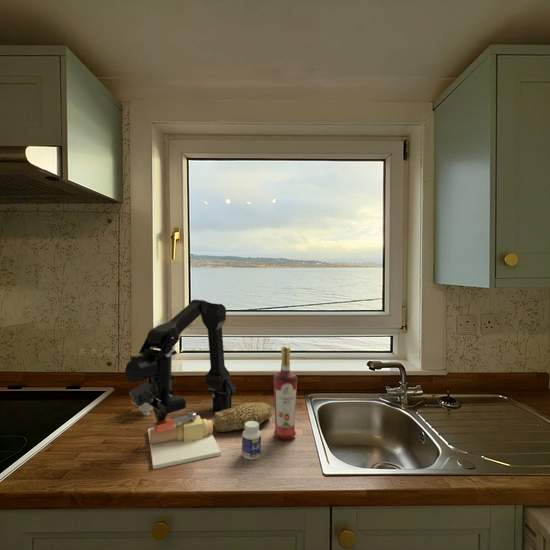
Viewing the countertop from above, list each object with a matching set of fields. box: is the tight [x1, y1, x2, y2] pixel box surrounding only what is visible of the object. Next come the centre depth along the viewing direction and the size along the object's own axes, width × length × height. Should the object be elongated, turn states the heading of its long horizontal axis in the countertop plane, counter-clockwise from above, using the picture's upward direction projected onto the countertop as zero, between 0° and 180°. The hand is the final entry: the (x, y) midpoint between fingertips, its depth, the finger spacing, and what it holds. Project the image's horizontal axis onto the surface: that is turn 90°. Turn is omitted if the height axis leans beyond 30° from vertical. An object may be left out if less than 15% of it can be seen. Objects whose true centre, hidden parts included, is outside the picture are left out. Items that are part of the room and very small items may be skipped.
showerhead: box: [131, 401, 153, 416], centre depth 126 cm, size 9×7×10 cm
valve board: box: [147, 414, 222, 470], centre depth 106 cm, size 18×22×6 cm
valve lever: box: [153, 411, 197, 433], centre depth 104 cm, size 13×3×2 cm, turn 133°
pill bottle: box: [241, 421, 262, 461], centre depth 100 cm, size 5×5×9 cm
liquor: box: [273, 345, 298, 441], centre depth 110 cm, size 7×7×28 cm
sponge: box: [213, 402, 274, 433], centre depth 118 cm, size 13×8×20 cm
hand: (159, 425), depth 103 cm, fingers closed
